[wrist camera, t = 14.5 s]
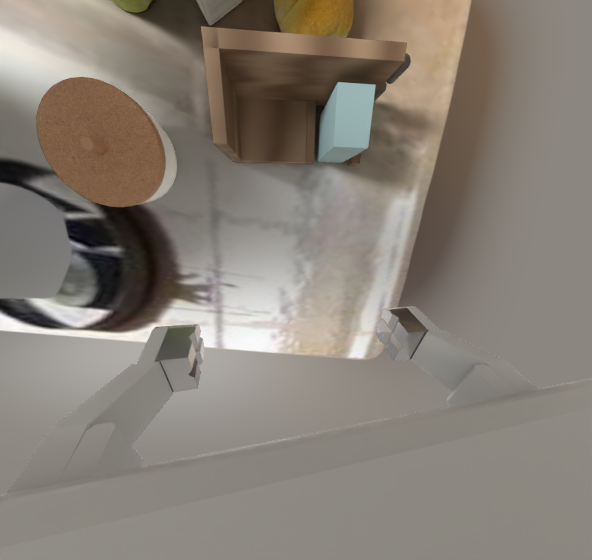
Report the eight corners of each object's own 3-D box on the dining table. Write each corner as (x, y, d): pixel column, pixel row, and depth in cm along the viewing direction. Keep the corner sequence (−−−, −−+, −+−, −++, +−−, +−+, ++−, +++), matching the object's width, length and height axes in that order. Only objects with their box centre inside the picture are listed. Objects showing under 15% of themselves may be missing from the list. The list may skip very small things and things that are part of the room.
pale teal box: (317, 161, 29) (333, 146, 21) (319, 118, 28) (337, 82, 19) (350, 163, 30) (379, 148, 21) (354, 119, 28) (388, 85, 20)
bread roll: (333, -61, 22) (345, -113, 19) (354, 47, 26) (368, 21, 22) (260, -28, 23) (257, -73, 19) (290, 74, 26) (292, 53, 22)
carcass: (233, 161, 28) (213, 143, 19) (228, 89, 26) (200, 26, 16) (363, 165, 30) (403, 149, 21) (371, 97, 27) (420, 43, 18)
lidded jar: (83, 119, 26) (-18, 77, 17) (172, 103, 26) (118, 53, 17) (124, 212, 29) (60, 217, 21) (201, 197, 30) (170, 196, 21)
